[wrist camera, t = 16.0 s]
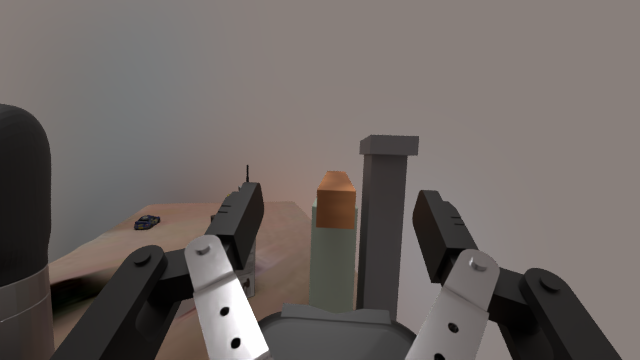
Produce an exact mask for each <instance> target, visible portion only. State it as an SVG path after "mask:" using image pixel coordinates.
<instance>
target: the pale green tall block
mask: <svg viewBox="0 0 640 360" xmlns="http://www.w3.org/2000/svg"><path fill="white" fill-rule="evenodd" d="M316 210H317V197H316V199H315V202H314V204H313V206H312V229H311V259H310V289H309V305H310V306H313V307H316V308H319V309H322V310H325V311H328V312H331V313H334V314H339V313H344V312H349V311H353V292H354V272H355V252H356V233H357V232H356V231H357V213H358V212H357V211H358V208H357V206H356V203H355V222H354V229H337V228H318V227H316Z"/></svg>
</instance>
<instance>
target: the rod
mask: <svg viewBox="0 0 640 360" xmlns="http://www.w3.org/2000/svg"><path fill="white" fill-rule="evenodd" d="M355 202H356V190H355V189H354V187H353V185H352V183H351V181H350V180H349V178H348V176H347V174H346V173H345V172H341V171H340V172H339V171H327V173H326V175H325V176H324V178H323V180H322V182H321V184H320V185H319V188H318V189H317V210H316V227H318V228H337V229H354V222H355Z"/></svg>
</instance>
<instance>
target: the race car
mask: <svg viewBox="0 0 640 360" xmlns="http://www.w3.org/2000/svg"><path fill="white" fill-rule="evenodd" d="M160 221H161V220H160V217H154V216H150V215H147V216H143V217H141V218H140V219H139V220H138V221H136V222H135V226H134V229H138V230H144V229H150V228H152V226H154V225H155V224H157V223H159V222H160Z"/></svg>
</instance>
